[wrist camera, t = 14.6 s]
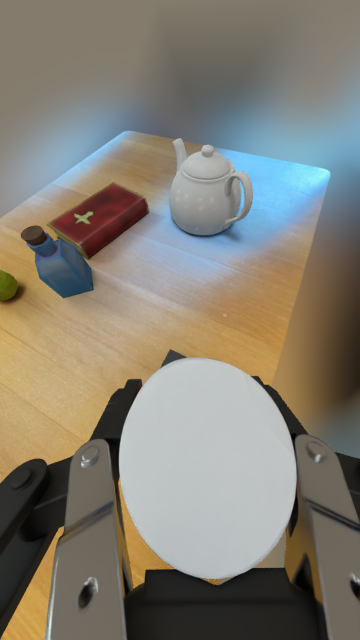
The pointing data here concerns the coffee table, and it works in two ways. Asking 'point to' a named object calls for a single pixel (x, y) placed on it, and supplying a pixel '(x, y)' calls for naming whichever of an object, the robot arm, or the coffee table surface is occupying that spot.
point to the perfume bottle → (58, 263)
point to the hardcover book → (99, 218)
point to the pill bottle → (207, 468)
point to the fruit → (7, 286)
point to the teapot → (207, 191)
